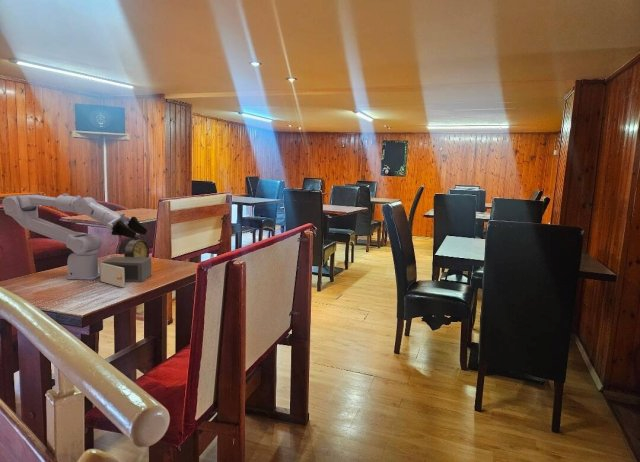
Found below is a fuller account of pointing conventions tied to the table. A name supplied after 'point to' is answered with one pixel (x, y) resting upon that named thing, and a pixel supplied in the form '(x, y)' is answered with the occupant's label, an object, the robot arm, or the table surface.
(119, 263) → the housing
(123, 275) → the door
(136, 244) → the alarm clock
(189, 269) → the table surface
